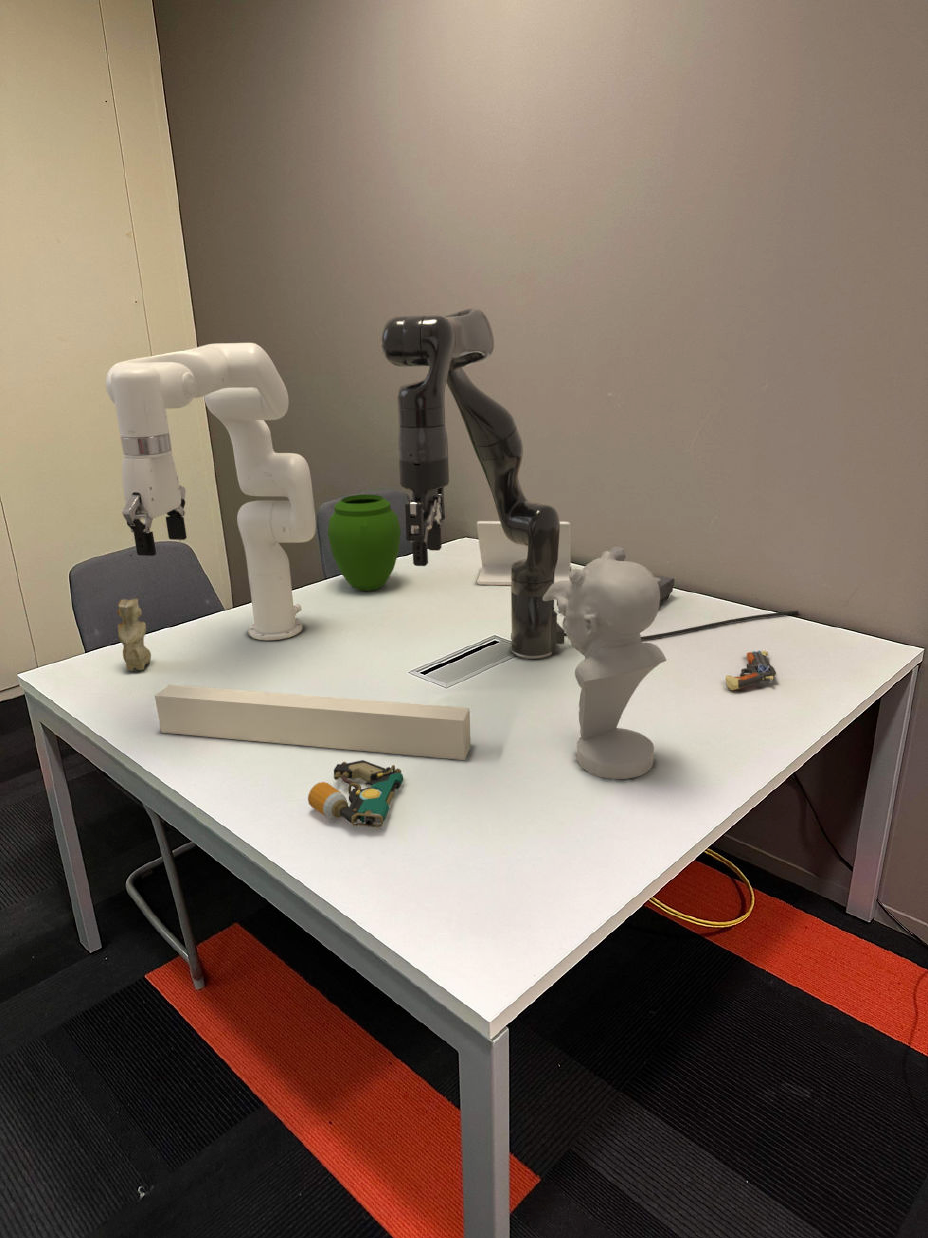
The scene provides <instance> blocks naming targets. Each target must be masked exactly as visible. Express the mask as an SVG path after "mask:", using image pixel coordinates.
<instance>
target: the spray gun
mask: <svg viewBox="0 0 928 1238" xmlns="http://www.w3.org/2000/svg"><path fill="white" fill-rule="evenodd" d="M333 779H334V780H335V781H338V780H339V779H341V781H342V782H343V783H344V784H347V785H348V787H347V792H348V801H349V802H348V801H347V797H346V796H345V794H344V793H343V792H342V791H340V790H338V789H337V788H335V787H334V786H333V785H331V784H330V783H328V782H325V781H320V782H317V783H316V784H314V785H313V787H312V788H310V790H309V793H308V795H307V802H308V805H309V806H310V807H311V808H312V809H314V810H315V811H317V812H318V813H320V814H322V815H323V816H324V817H326V818H330V819H341V818H343V819H344V820H345V821H347V822H348V823H349V824H351V825H352V826H353V827H359V826H360V827H361V826H362V827H369V828H370V827H371V828H378V829H379V828H380V829H381V828H382V827H383V826H384V823H385V820H386V818H387V815H388V814H389V811H390V809H391V808H390V804H391V803H392V801H393V798H394V796H395V791H396V790H399V789H400V788H401V786H402V784H403V782H404V775H403V774H402V770H401V769H400V768H398V767H397V768H396V766H395V765H394V764H392V765H391V767H390V766H388V767H386V768H384V767H383V766H380V765H377V764H374V763H372V762H369V761H367V760H364V759H361V760H356V761H352V762H346V761H342V762H341V763H337V764H336V766H335V767H334V769H333ZM357 779H360V780H362V781H365V783H364V785H366V786H370V787H366V788H362V785H360V784H359V783H357V782H355V781H353V780H357ZM352 787H353V788H352ZM349 803H350V805H349ZM358 821H360V822H358Z"/></svg>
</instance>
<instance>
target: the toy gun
mask: <svg viewBox="0 0 928 1238" xmlns="http://www.w3.org/2000/svg"><path fill="white" fill-rule="evenodd" d="M769 654H770V653H769V652H768V651H767V650H757V651H755V650H753V651H751V652H750V651H748V652H747V653H746V660H747V662H748V663H747V664H746V667H744V668H741V670H740V671H741V672H740V674H739V676H731V675H725V683H726V686H727V688H728V689H729V690H730V691H735V690H736V691H737V690H739V689H742V688H747V687H750V686H753V685H756V684H760V683H763V682H764V681H767V680H771V681H773V680H774V678H775V676H778V674H777V671H776V669H775V667H774V666H773V665H771V663H770V660H769V659H768V657H769V656H770V655H769Z"/></svg>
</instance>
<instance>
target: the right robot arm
mask: <svg viewBox="0 0 928 1238" xmlns="http://www.w3.org/2000/svg"><path fill="white" fill-rule="evenodd" d="M494 347H495V339H494V332H493V328H492V327H491V323H490V321H489V318H488V316H487V315H486V314H485V313H484V311H482V310H481V309H480V308H476V307H473V308H466V309H462V310H459V311H456V312H454V313H451V314H448V315H445V316H444V315H439V314H431V315H399V316H398V315H397V316H394V317H391V318H390V319H389V320H388V321H386V322H385V324H384V326H383V328H382V330H381V334H380V348H381V351H382V354H383V355H384V357H385V359H386V360H387V361H388V363H390V364H392V365H393V366H394V367H395V366H396V367H401V368H405V367H406V368H407V367H408V368H409V367H413V368H414V367H428V371H427V374H426V376H425V378H423V379H422V380H419V381H415V382H411V383H407V384H403V385H402V386H400V387H399V388H398V390H397V394H396V395H397V396H396V401H397V403H396V404H397V418H398V419H397V420H398V421H397V422H398V433H397V451H398V469H399V484H400V486H401V487H402V488H404V489H406V490H410V491H411V492H412V494H411V499H410V501H405V503H404V508H405V510H404V511H405V539H406V542H410V543H411V544H412V546H411V547H412V564H413V565H414V566H415V567H426V566H427V565H428V564H429V551H437V552H438V551H440V550H441V549H442V547H443V545H442V543H443V542H442V527H443V525H444V522H443V521H445V519H446V509H445V491H444V490H445V487H447V486H448V485H449V483H450V477H449V476H450V474H449V473H450V472H449V446H448V445H449V443H448V433H447V428H446V408H445V407H446V405H445V403H446V402H445V401H446V400H445V398H446V396H445V395H446V386H447V387H448V388H449V391H450V394H451V395H452V397H453V400H454V401H455V403H456V406H457V408H458V410H459V413H460V416H461V418H462V421H463V423H464V426H465V429H466V432H467V435H468V438H469V441H470V442H471V445H472V447H473V450H474V453H475V455H476V457H477V459H478V462H479V464H480V466H481V468H482V471H483V473H484V476H485V479H486V482H487V484H488V486H489V490H490V492H491V495H492V497H493V502H494V505H495V508H496V513H497V515H498V520H499V521H500V523H501V526H502V529H503V531H504V534H505V535H506V537H507V538H508V539H509V540H510V541H512V542H513V543H516V544H520V545H524V546H528V554H527V559H522V560H519V561H516V562H515V563H513V564H512V567H511V585H510V588H511V589H510V597H511V599H510V603H511V604H510V606H511V607H510V609H511V610H510V615H511V617H510V618H511V621H510V622H511V633H510V640H511V643H510V644H511V647H510V651H511V653H512V655H513V656H515V657H518V658H521V659H525V660H526V659H527V660H540V659H545V658H548V657H550V656H552V655H557V654H558V653H557V650H558V649H557V648H558V647H557V645H564V644H565V637H567V635H566V632H565V631H564V630H563V627H562V625H560V624H559V623H558V613H557V612H556V611H555V600H550V601H543V596H544V595H545V594H546V592H547V591H548V589H549V588H550V586H551V585H552V584H554V572H555V568H556V565H557V561H558V548H559V534H560V522H561V521H560V517H559V514H558V511H557V510H556V508H555V507H553V506H552V505H548V504H544V503H539V502H533V501H529V500H528V498H526V496H525V494H524V491H523V489H522V487H521V484H520V480H519V473H520V470H521V469H520V468H521V465H522V461H523V456H524V444H523V442H522V438H521V436H520V435H521V434H520V432H519V430H518V427H517V424H516V421H515V419H514V416H513V415H512V414H511V413H510V411H509V410H507V408H505V407H504V406H503V405H501V403H500V402H498V401H497V400H495V399H494V398H492V397H491V396H489V395H488V394H486V393H485V392H484V391H482V390H481V389H480V388H479V387H478V386H477V385H475V384H474V383H473V381H472V380H471V379H470V378H469V376H468V375H467V373H466V372H465V370H464V369H463V368H464V367H467V366H470V365H473V364H476V363H477V364H478V363H480V362H482V361H484V360H486V359H488V358H490V356H491V355H492V354H493V352H494ZM417 530H418V533H417ZM428 550H429V551H428ZM799 614H800V613H799V610H793V611H782V612H781V611H780V612H770V613H762V614H756V615H751V616H744V617H738V618H732V619H727V620H722V621H717V622H712V623H707V624H702V625H697V626H693V627H687V628H683V629H679V630H674V631H668V632H663V633H658V634H657V633H656V634H651V635H650V634H649V635H645V636H641V641H645V640H651V639H652V640H653V639H657V638H664V637H669V636H674V635H678V634H685V633H690V632H695V631H699V630H702V629H703V630H704V629H708V628H713V627H717V626H723V625H727V624H732V623H738V622H743V621H749V620H755V619H756V620H757V619H763V618H771V617H779V616H788V615H789V616H791V615H799Z"/></svg>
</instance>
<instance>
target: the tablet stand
mask: <svg viewBox="0 0 928 1238" xmlns="http://www.w3.org/2000/svg"><path fill="white" fill-rule="evenodd" d="M559 522H560V534H559V548H558V561H557V565H556V568H555V572H554V583H555V582H557V581H563V580H568V581H570V578H569V573H570V571H571V565H572V564H571V560H572V558H571V522H569V521H559ZM476 531H477V537H478V544H479V551H480V557H481V558H480V559H481V570H480V573H479V575H478V577H477V580H476V581H477V582H476V584H478V585H484V586H485V585H486V586H487V585H489V586H490V585H491V586H511V567H512V564H513V563H515V562H516V561H519V560H522V559H527V554H528V546H524V545H520V544H516V543H513V542H512V541H510V540H509V539H508V538H507V537H506V535H505V534H504V531H503V529H502V526H501V523H500V520H477V522H476Z"/></svg>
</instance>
